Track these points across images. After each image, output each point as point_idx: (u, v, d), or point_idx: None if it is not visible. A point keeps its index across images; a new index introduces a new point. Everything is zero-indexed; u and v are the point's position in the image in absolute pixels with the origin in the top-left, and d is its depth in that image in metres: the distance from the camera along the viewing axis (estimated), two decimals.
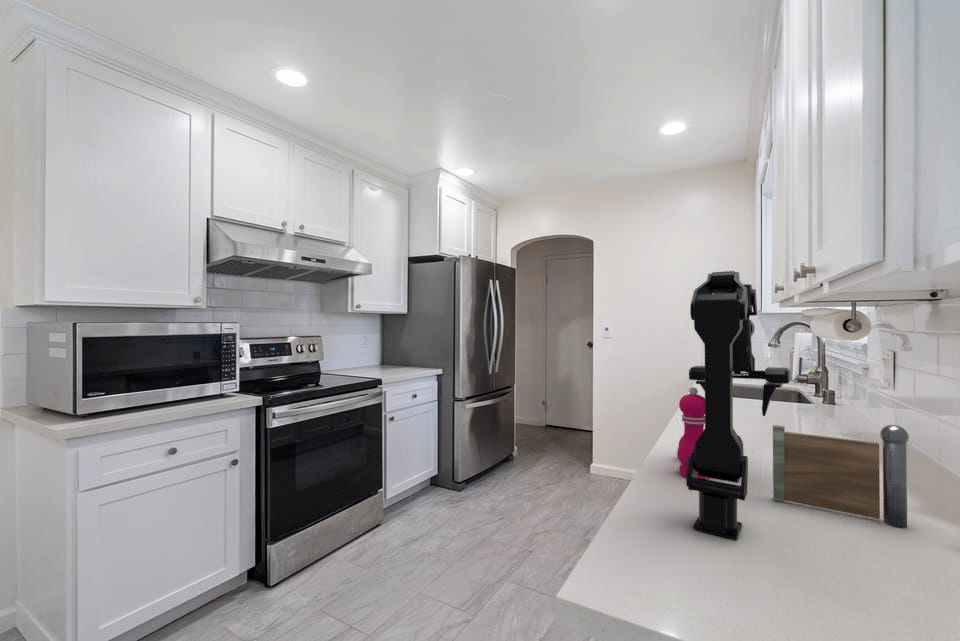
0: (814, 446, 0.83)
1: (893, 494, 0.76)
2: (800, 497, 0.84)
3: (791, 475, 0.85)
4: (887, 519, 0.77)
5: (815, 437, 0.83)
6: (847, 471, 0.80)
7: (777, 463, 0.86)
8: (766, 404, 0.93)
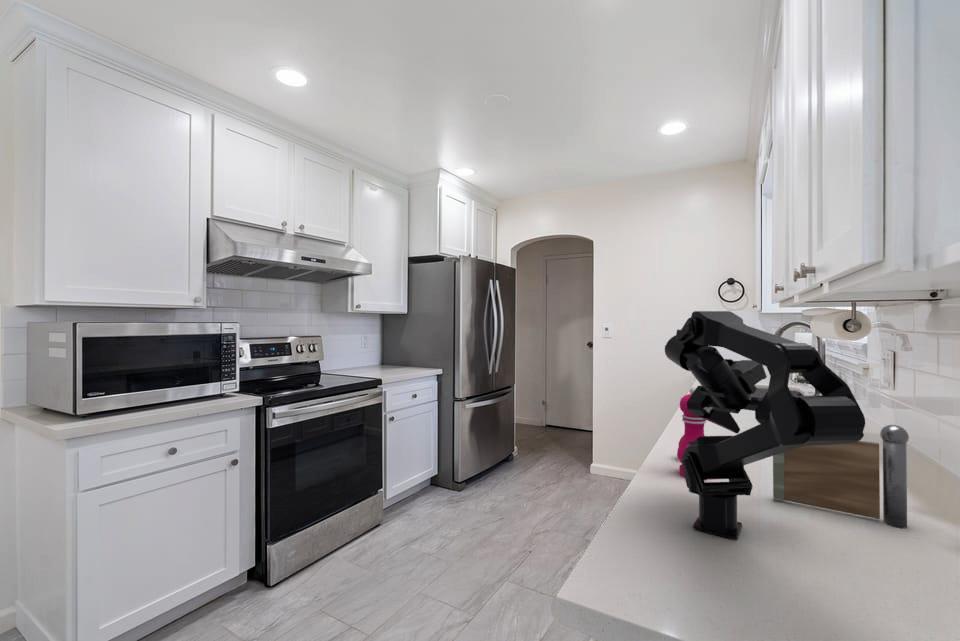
0: (814, 446, 0.83)
1: (893, 494, 0.76)
2: (800, 497, 0.84)
3: (791, 475, 0.85)
4: (887, 519, 0.77)
5: None
6: (847, 471, 0.80)
7: (777, 463, 0.86)
8: None
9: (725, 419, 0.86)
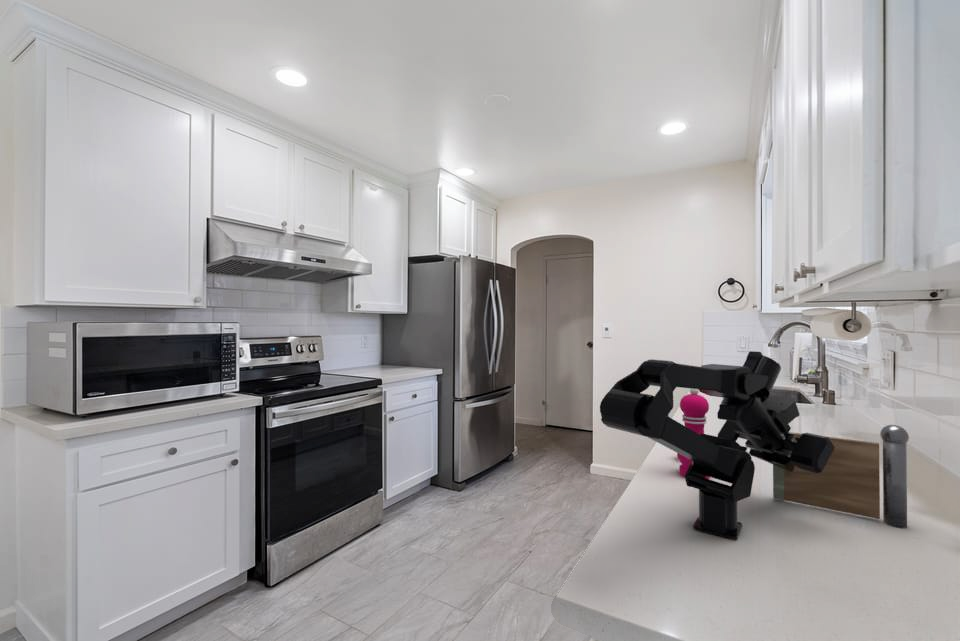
0: None
1: (893, 494, 0.76)
2: (800, 497, 0.84)
3: (791, 475, 0.85)
4: (887, 519, 0.77)
5: None
6: (847, 471, 0.80)
7: None
8: (786, 468, 0.83)
9: None
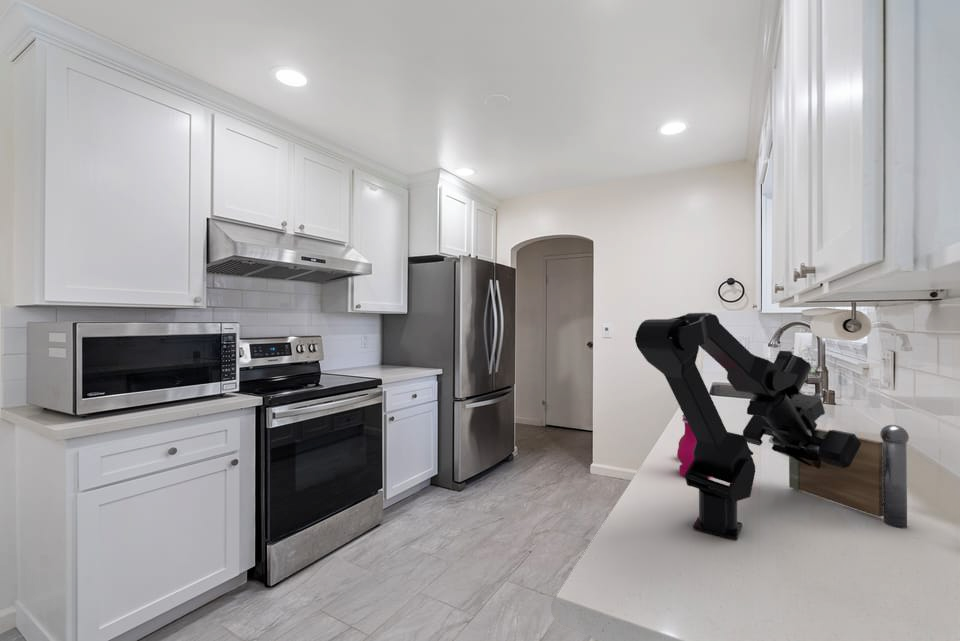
0: None
1: (893, 494, 0.76)
2: (811, 488, 0.89)
3: (804, 466, 0.90)
4: (887, 519, 0.77)
5: (824, 432, 0.87)
6: (851, 467, 0.82)
7: None
8: (813, 465, 0.86)
9: (800, 453, 0.88)
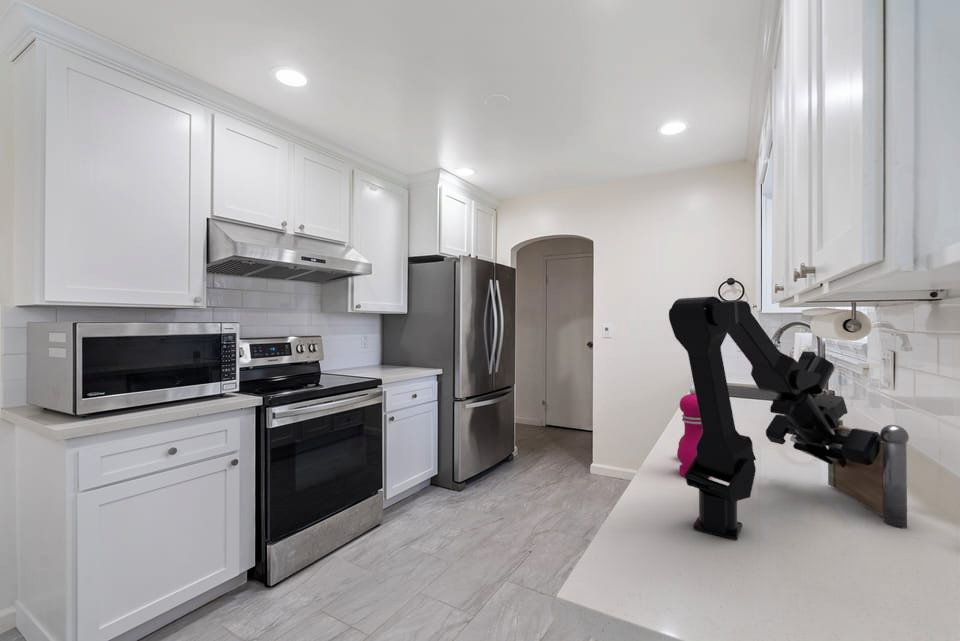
0: None
1: (893, 494, 0.76)
2: (842, 486, 0.90)
3: (838, 465, 0.91)
4: (887, 519, 0.77)
5: (850, 431, 0.88)
6: (865, 466, 0.83)
7: None
8: (839, 463, 0.87)
9: (821, 451, 0.90)
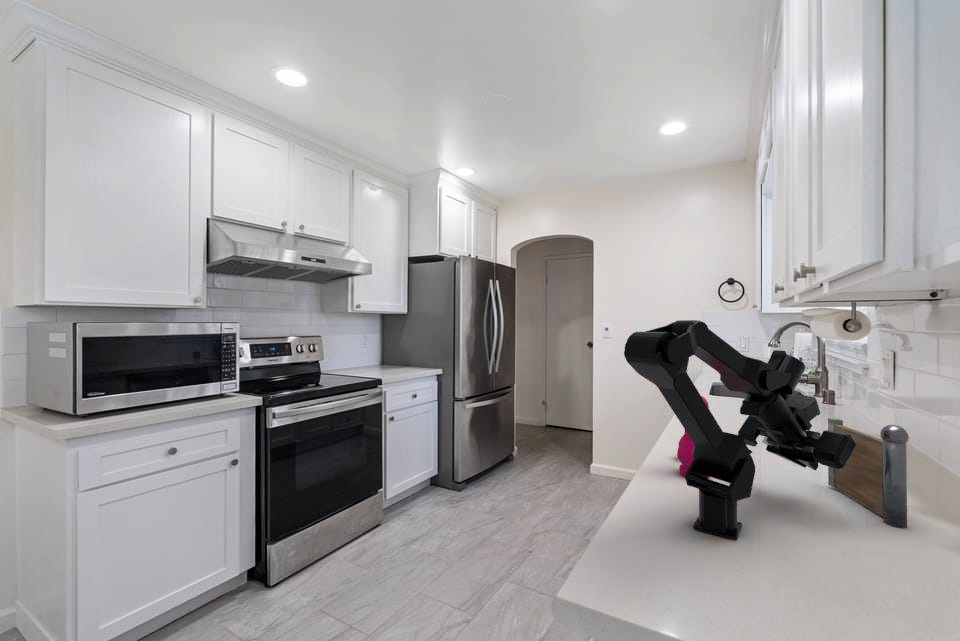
0: None
1: (893, 494, 0.76)
2: (842, 486, 0.90)
3: None
4: (887, 519, 0.77)
5: (850, 431, 0.88)
6: (865, 466, 0.83)
7: None
8: (810, 466, 0.84)
9: (794, 454, 0.87)
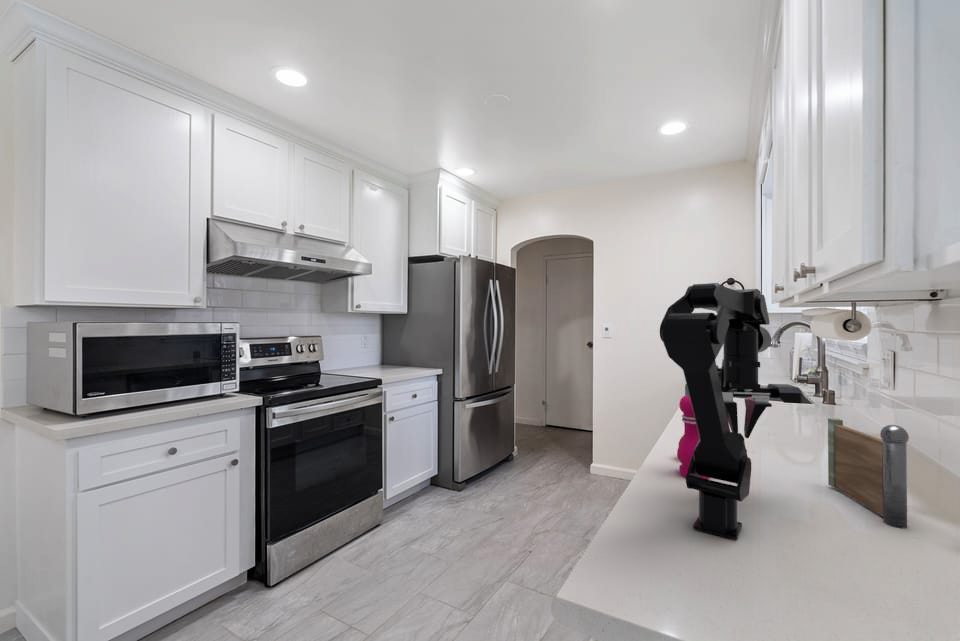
0: (849, 440, 0.88)
1: (893, 494, 0.76)
2: (842, 486, 0.90)
3: (838, 465, 0.91)
4: (887, 519, 0.77)
5: (850, 431, 0.88)
6: (865, 466, 0.83)
7: (830, 452, 0.93)
8: (753, 425, 0.83)
9: None
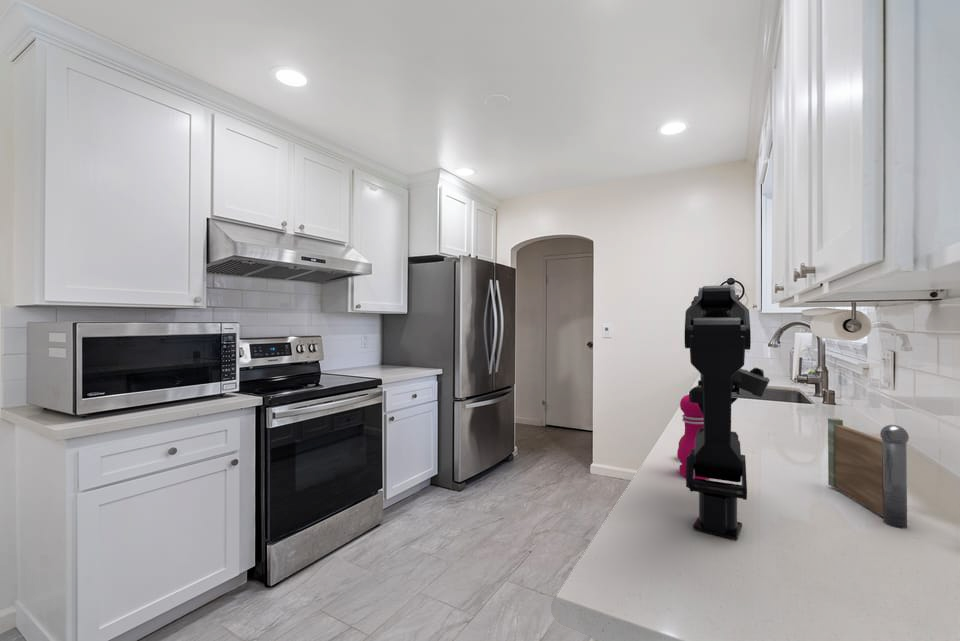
0: (849, 440, 0.88)
1: (893, 494, 0.76)
2: (842, 486, 0.90)
3: (838, 465, 0.91)
4: (887, 519, 0.77)
5: (850, 431, 0.88)
6: (865, 466, 0.83)
7: (830, 452, 0.93)
8: None
9: None
